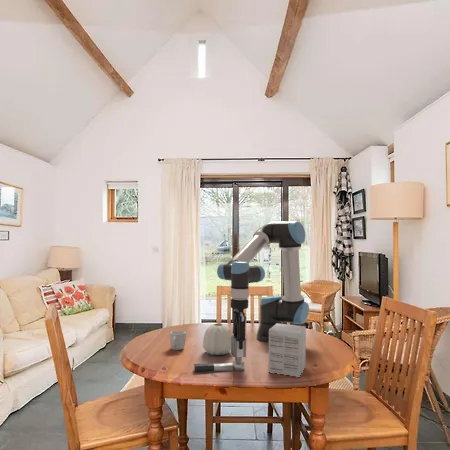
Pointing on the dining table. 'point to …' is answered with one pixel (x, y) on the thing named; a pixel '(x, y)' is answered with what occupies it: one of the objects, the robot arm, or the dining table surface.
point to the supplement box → (287, 349)
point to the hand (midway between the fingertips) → (238, 354)
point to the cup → (177, 339)
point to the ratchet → (220, 366)
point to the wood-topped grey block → (234, 346)
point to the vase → (217, 340)
